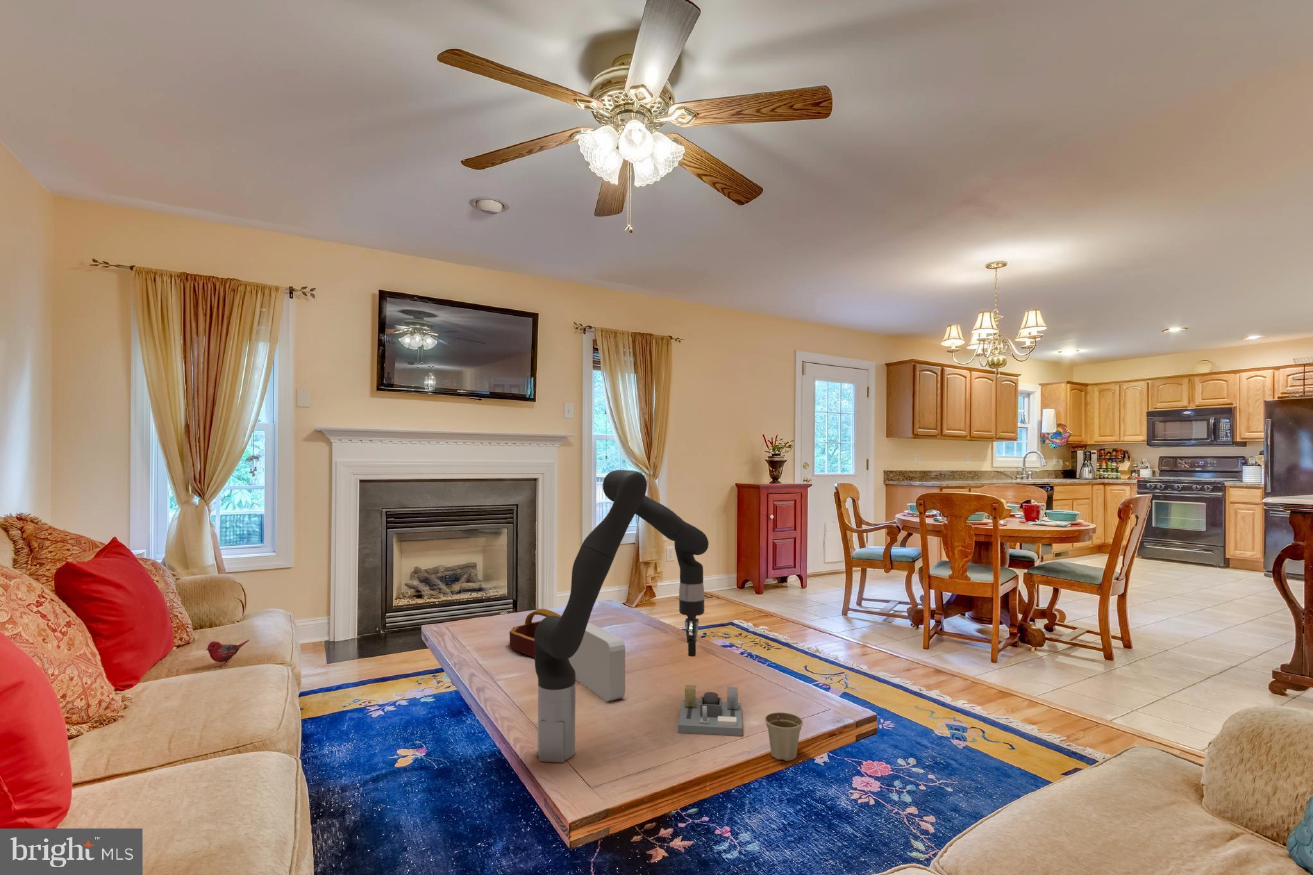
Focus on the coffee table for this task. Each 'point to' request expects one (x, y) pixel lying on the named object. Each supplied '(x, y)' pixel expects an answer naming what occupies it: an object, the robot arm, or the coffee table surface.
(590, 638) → the rounded white slab
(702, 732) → the control board
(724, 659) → the coffee table surface
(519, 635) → the decorative basket
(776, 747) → the flower pot
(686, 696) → the gold rectangular block
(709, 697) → the black button
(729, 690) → the light grey block
